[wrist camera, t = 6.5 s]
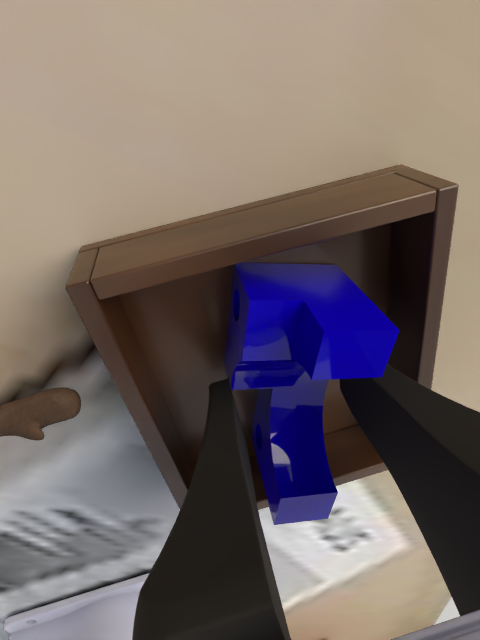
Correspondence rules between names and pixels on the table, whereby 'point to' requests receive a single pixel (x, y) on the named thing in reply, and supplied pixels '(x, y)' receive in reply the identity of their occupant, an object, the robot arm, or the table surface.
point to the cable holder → (299, 370)
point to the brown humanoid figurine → (38, 412)
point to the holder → (215, 291)
